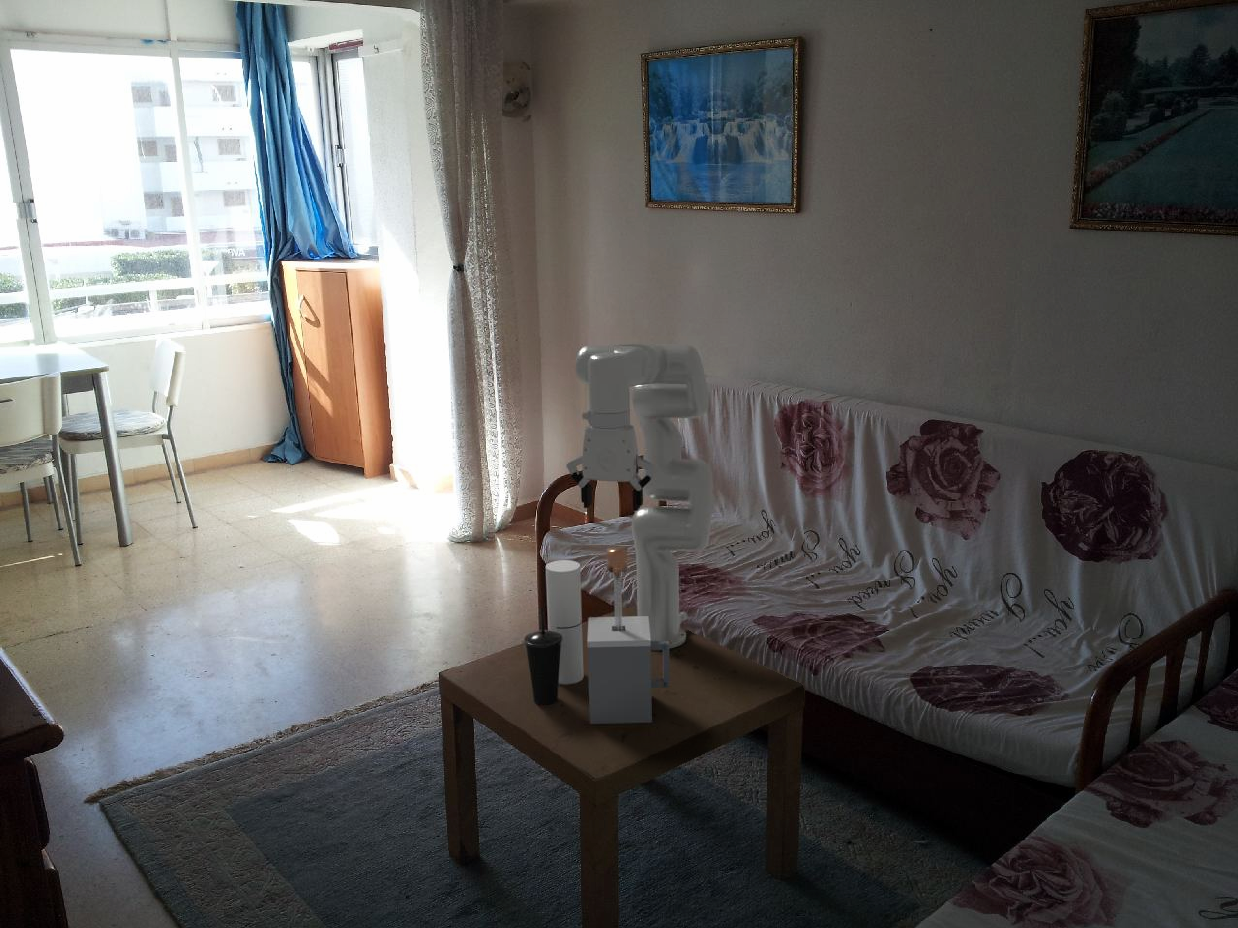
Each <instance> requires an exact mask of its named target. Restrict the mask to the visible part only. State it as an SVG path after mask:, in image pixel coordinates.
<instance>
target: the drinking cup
mask: <svg viewBox="0 0 1238 928" xmlns="http://www.w3.org/2000/svg"><path fill="white" fill-rule="evenodd" d="M539 611H540V630H536V631H533V632H530V633H528V634H526V635H525V637H524V638H523V641H524V644H525V646H526V654H527V660H528V662H527V663H528V668H529V676H530V683H531V689H532V695H533V697H532V698H533V701H534V704H536V705H538V706H543V707H544V706H545V707H546V706H551V705H554V704H556V703H557V702H558V699H559V685H560V684H559V668H560V650H561V642H562V635H561V634H559V633H557V632H554V631H550V630H548V629H546V628H545V608H544V607H540V608H539Z"/></svg>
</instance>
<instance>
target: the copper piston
mask: <svg viewBox="0 0 1238 928" xmlns="http://www.w3.org/2000/svg"><path fill="white" fill-rule="evenodd" d="M605 552H606V571H607V572H609V573H612V574H613V587H614V589H613V590H614V591H613V592H614V593H613V594H614V595H613V596H614V598H613V599H614V617H615V631H622V617H623V606H622V605H623V603H622V593H623V592H622V573H625V572H627V571H629V570H628V569H629V568H628V566H629V565H628V562H629V560H628V557H629V556H628V548H627V547H625V546H616V545H615V546H610V547H608V548H607V549H606V551H605Z"/></svg>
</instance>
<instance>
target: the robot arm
mask: <svg viewBox="0 0 1238 928" xmlns="http://www.w3.org/2000/svg"><path fill="white" fill-rule="evenodd" d="M574 367H575V373H576V376H577V378H578V380H579V381H580V383H582V384H584V385H588V406H589V408H588V409H589V410H588V411H586V412H582V414H581V415H582V416H581V418H582V420H586V421H587V422H588V425H587V426H586V427H585V429H584V434H583V435H584V437H583V444H582V455H581V456H579V457H576V458H575V459H572V460H571V461H569V462H567V463H566V468H567V470H568V472H569V474H570V475H571V478H572V479H573V480H574V482H576V484H578V487H579V488H580V497H581V498H580V500H581V503H583V508H584V509H588V508H590V506H592V504H593V494H592V493H593V492H592V491H593V490H592V485H591V483H590V481H600V482H616V483H617V482H620V483H622V482H623V483H624V482H625V483H626V482H629V483H630V484H631V486H632V487H633V488H634V489H633V490H632V510H633V511H634V514H633V516H632V520H631V532H632V533H631V534H632V539H633V544H634V549H635V557H636V560H635V561H636V562H635V563H636V599H637V601H636V602H637V603H636V606H637V607H636V608H637V616H648V618H649V629H650V640H651V641H669V650H670V649H675V648H677V647H679V646H681V645H683V644H684V643H685V641H686V640H687V633H686V631H685V630H683V629H682V628H681V623H683V621H685V620H687V619H688V614H687V612H685V611H681V612H680V597H679V595H680V594H679V592H680V591H679V590H680V588H679V587H680V586H679V583H680V580H679V577H680V575H679V574H680V572H679V571H680V570H679V564H678V562H677V559H676V558H675V556H674V554H673V553H672V552H671V551H680V552H681V551H683V552H701V551H704V550H705V549H706V548H707V547H708V544H709V541H710V534H711V524H712V509H713V507H712V505H713V490H714V489H713V488H714V487H713V486H714V482H713V479H714V478H713V477H714V476H713V473H712V469H711V467H710V465H709V464H708V463H707V462H706V461H704V460H700V459H683V458H682V444H683V438H682V437H683V436H682V434H681V432H680V430H679V428H678V427H677V426H676V424H675V423H674V422H673V420H672V419H673V418H674V419H699V418H701V417H704V416H705V414H706V413H707V412H708V410H709V405H710V404H709V403H710V396H709V395H710V394H709V389H708V383H707V379H706V374H705V369H704V363H703V362H702V359H701V356H700V353H699V352H698V350H697V349H696V348H695V347H694V346H693V345H690V344H684V343H683V344H681V343H680V344H678V343H677V344H673V343H672V344H671V343H669V344H668V343H624V344H622V343H621V344H614V345H585V346H583V347H582V348H581V349H580V350H579V351H578V353H577V355H576V358H575V363H574ZM630 387H631V391H630ZM630 394H631V395H630ZM630 396H631V397H630ZM630 400H631V403H632V406H633V408H634V409H633V410H634V412H635V414H636V416H637V419H638V420H639V423H640V426H641V429H642V433H643V438H644V443H643V457H640V456H639V450H638V443H637V436H636V430H635V427H634V426H633V425H632V424H631V407H630V406H631V403H630ZM580 465H581V466H582V467H581V468H582V470H581V471H582V473H581V472H580V471H579V470H578V466H580ZM640 468H641V469H642V474H641V476H640V475H639V471H640ZM644 496H645V497H646V498H647V499H651V500H654V501H663V502H664V501H666V502H680V503H681V502H683V503H688V504H689V507H688V508H686V507H674V506H659V505H657V506H656V505H655V506H653V505H652V506H651V505H650V506H644V507H642V506H643V505H644Z"/></svg>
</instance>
